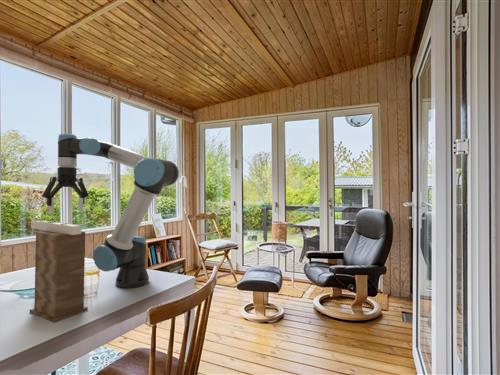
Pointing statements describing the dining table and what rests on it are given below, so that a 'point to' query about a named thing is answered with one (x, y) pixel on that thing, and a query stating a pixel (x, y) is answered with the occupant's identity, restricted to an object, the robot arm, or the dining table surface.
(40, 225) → the domino bar
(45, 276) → the walnut post
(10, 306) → the dining table surface
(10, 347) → the dining table surface
